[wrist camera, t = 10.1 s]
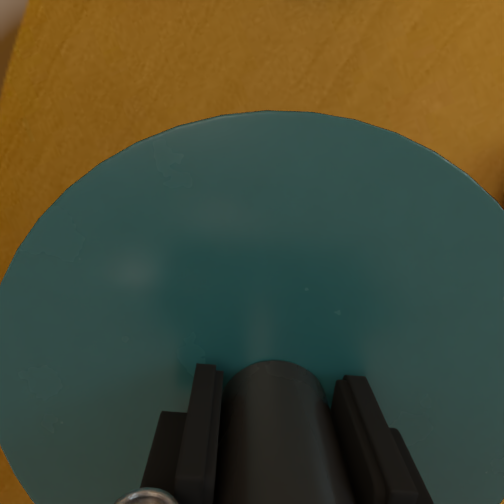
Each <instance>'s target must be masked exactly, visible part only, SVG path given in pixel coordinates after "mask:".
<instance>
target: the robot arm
mask: <svg viewBox="0 0 504 504" xmlns="http://www.w3.org/2000/svg"><path fill="white" fill-rule="evenodd" d="M223 373H224V371H220V370H216V365H212V364H200V363H197V364H196V369H195V374H194V379H193V384H192V390H191V395H190V400H189V406H188V411H187V413H183V412H169V411H162V412H161V414H160V417H159V420H158V424H157V428H156V431H155V435H154V439H153V442H152V446H151V450H150V453H149V457H148V460H147V464H146V468H145V471H144V475H143V479H142V482H141V486H140V488H138V489H135V490H132V491H130V492H127V493H125V494H124V495H123V496H121V497H120V498H118V499H117V500H116V501H115V503H114V504H213V497H214V486H215V474H216V462H217V449H218V437H219V424H220V411H221V399H222V386H223ZM331 414H332V418H333V421H334V425H335V428H336V432H337V435H338V439H339V442H340V446H341V449H342V453H343V456H344V460H345V463H346V467H347V471H348V474H349V478H350V481H351V485H352V488H353V492H354V495H355V499H356V502H357V504H434V503H433V500H432V498H431V496H430V494H429V492H428V490H427V488H426V486H425V484H424V482H423V480H422V478H421V475H420V473H419V471H418V469H417V467H416V465H415V463H414V461H413V459H412V457H411V455H410V452H409V450H408V448H407V446H406V444H405V442H404V440H403V438H402V436H401V434H400V432H399V431H398V429H396V428H389V427H388V425H387V422H386V420H385V418H384V416H383V413H382V411H381V409H380V407H379V405H378V402H377V400H376V398H375V396H374V393H373V391H372V389H371V387H370V385H369V382H368V380H367V378H366V377H365V376H354V375H344V377H343V379H342V380H337V381H336V383H335V389H334V394H333V400H332V405H331Z"/></svg>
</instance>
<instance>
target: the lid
mask: <svg viewBox="0 0 504 504" xmlns="http://www.w3.org/2000/svg"><path fill="white" fill-rule="evenodd" d="M197 363H200V364H212V365H216V370H220V371H224V373H223V386H222V399H221V411H220V424H219V437H218V449H217V462H216V474H215V486H214V497H213V504H357V502H356V499H355V495H354V492H353V488H352V485H351V481H350V478H349V474H348V471H347V467H346V463H345V460H344V456H343V453H342V449H341V446H340V442H339V439H338V435H337V432H336V428H335V425H334V421H333V418H332V414H331V405H332V400H333V394H334V389H335V383H336V381H337V380H342V379H343V377H344V375H354V376H365V377H366V378H367V380H368V382H369V385H370V387H371V389H372V391H373V393H374V396H375V398H376V400H377V402H378V405H379V407H380V409H381V411H382V413H383V416H384V418H385V420H386V422H387V425H388V427H389V428H396V429H398V431H399V432H400V434H401V436H402V438H403V440H404V442H405V444H406V446H407V448H408V450H409V452H410V455H411V457H412V459H413V461H414V463H415V465H416V467H417V469H418V471H419V473H420V475H421V478H422V480H423V482H424V484H425V486H426V488H427V490H428V492H429V494H430V496H431V498H432V500H433V503H434V504H500V503H501V502H502V500H503V499H504V210H503V209H502V207H501V206H500V205H499V203H498V202H497V201H496V200H495V199H494V198H493V197H492V196H491V195H490V194H488V193H487V192H486V191H485V190H484V189H483V188H482V187H481V186H480V185H479V184H478V183H477V182H476V181H475V180H474V179H473V178H471V177H470V176H469V175H468V174H467V173H465V172H464V171H462V170H461V169H459V168H458V167H457V166H455V165H454V164H452V163H451V162H449V161H448V160H446V159H445V158H444V157H442V156H441V155H439V154H438V153H436V152H435V151H433V150H431V149H429V148H427V147H425V146H423V145H421V144H418V143H416V142H414V141H412V140H410V139H408V138H406V137H404V136H402V135H400V134H398V133H396V132H392V131H389V130H386V129H383V128H380V127H377V126H374V125H371V124H368V123H365V122H362V121H358V120H355V119H349V118H344V117H338V116H332V115H326V114H321V113H315V112H300V111H271V110H264V111H254V112H245V113H235V114H225V115H220V116H216V117H212V118H207V119H203V120H199V121H195V122H191V123H187V124H183V125H179V126H176V127H174V128H171V129H169V130H166V131H164V132H161V133H159V134H156V135H153V136H151V137H148V138H146V139H143V140H141V141H138V142H136V143H135V144H133V145H131V146H129V147H127V148H126V149H124V150H122V151H120V152H119V153H117V154H115V155H113V156H112V157H110V158H108V159H106V160H105V161H103V162H101V163H100V164H98V165H97V166H96V167H94V168H93V169H92V170H91V171H89V172H88V173H87V174H85V175H84V176H83V177H82V178H80V179H79V180H78V181H76V182H75V183H74V184H73V185H71V186H70V187H69V188H68V189H66V190H65V192H64V193H63V194H62V195H61V196H60V197H59V198H58V199H57V200H56V201H55V202H54V203H53V204H52V205H51V206H50V207H49V208H48V209H47V210H46V211H45V213H44V214H43V215H42V216H41V217H40V218H39V219H38V221H37V222H36V223H35V225H34V226H33V228H32V229H31V231H30V232H29V233H28V235H27V236H26V238H25V239H24V241H23V242H22V243H21V245H20V246H19V248H18V249H17V251H16V253H15V255H14V257H13V259H12V261H11V263H10V265H9V267H8V269H7V271H6V273H5V276H4V278H3V280H2V282H1V284H0V445H1V448H2V450H3V452H4V454H5V456H6V458H7V460H8V462H9V464H10V466H11V468H12V470H13V472H14V474H15V476H16V477H17V479H18V480H19V482H20V483H21V485H22V486H23V488H24V489H25V491H26V492H27V494H28V495H29V497H30V498H31V500H32V501H33V502H34V503H35V504H114V503H115V501H116V500H117V499H118V498H120V497H121V496H123V495H124V494H125V493H127V492H130V491H132V490H135V489H138V488H140V486H141V482H142V479H143V475H144V471H145V468H146V464H147V460H148V457H149V453H150V450H151V446H152V442H153V439H154V435H155V431H156V428H157V424H158V420H159V417H160V414H161V412H162V411H169V412H183V413H187V411H188V406H189V400H190V395H191V390H192V384H193V379H194V374H195V369H196V364H197Z"/></svg>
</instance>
